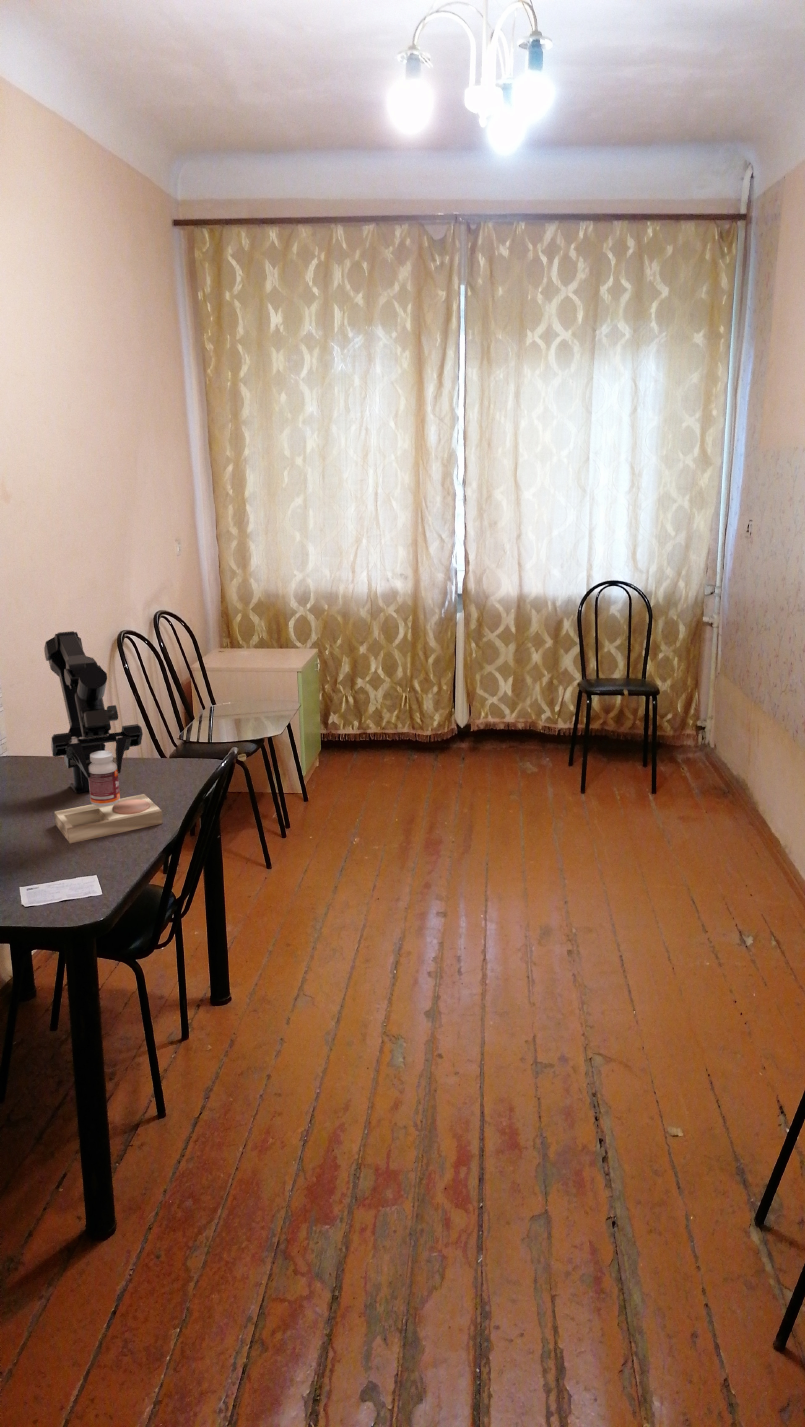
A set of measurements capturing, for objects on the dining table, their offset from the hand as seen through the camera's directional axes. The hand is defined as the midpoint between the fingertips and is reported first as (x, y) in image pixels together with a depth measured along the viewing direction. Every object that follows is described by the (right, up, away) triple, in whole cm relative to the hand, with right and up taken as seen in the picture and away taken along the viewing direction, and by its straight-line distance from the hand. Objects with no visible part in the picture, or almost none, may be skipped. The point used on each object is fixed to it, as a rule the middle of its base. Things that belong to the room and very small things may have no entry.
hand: (104, 774), depth 205 cm
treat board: (-1, -11, +5) cm, 12 cm away
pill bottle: (-1, -6, +3) cm, 7 cm away
